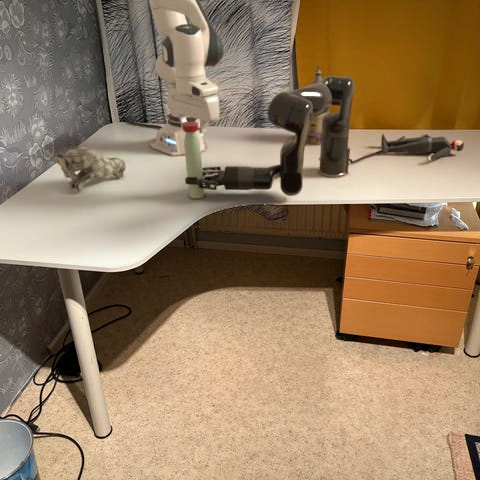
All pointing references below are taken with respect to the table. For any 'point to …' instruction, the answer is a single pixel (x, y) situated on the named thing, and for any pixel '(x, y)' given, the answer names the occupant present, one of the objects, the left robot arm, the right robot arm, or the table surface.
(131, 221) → the table surface
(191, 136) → the bottle
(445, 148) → the toy
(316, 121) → the miniature building
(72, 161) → the figurine
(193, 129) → the cap
